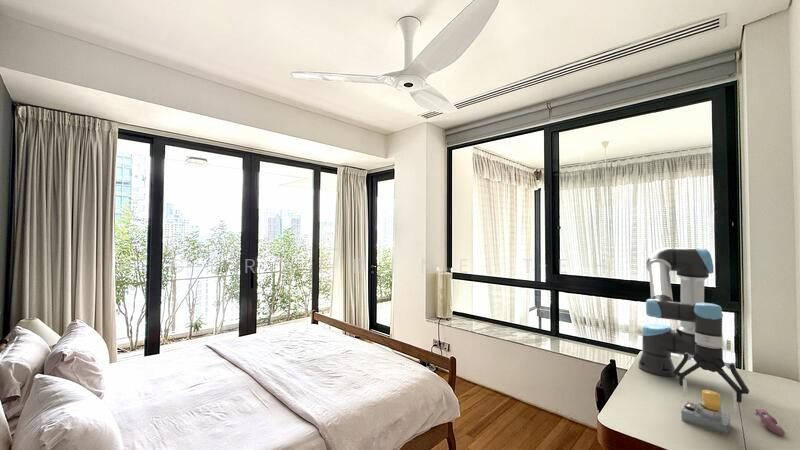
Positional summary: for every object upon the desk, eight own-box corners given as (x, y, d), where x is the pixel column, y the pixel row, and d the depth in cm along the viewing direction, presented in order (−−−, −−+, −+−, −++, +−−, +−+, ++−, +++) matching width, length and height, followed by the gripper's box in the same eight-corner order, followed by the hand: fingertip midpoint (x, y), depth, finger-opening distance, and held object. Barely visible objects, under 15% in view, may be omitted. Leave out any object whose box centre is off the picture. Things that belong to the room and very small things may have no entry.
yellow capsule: (700, 414, 118) (700, 392, 119) (703, 409, 122) (703, 388, 122) (719, 420, 114) (719, 397, 115) (721, 415, 118) (721, 393, 118)
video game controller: (762, 424, 121) (749, 405, 123) (778, 423, 118) (765, 403, 121) (769, 437, 113) (756, 416, 115) (786, 436, 111) (772, 414, 113)
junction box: (681, 419, 120) (681, 403, 121) (687, 410, 127) (687, 395, 128) (726, 435, 111) (726, 418, 111) (730, 424, 118) (730, 408, 118)
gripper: (663, 338, 127) (664, 392, 126) (757, 357, 107) (758, 421, 107) (668, 334, 131) (668, 386, 131) (759, 352, 112) (760, 413, 111)
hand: (709, 402), depth 119 cm, fingers open, 13 cm apart
